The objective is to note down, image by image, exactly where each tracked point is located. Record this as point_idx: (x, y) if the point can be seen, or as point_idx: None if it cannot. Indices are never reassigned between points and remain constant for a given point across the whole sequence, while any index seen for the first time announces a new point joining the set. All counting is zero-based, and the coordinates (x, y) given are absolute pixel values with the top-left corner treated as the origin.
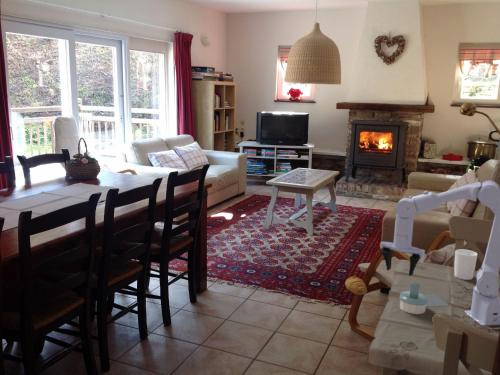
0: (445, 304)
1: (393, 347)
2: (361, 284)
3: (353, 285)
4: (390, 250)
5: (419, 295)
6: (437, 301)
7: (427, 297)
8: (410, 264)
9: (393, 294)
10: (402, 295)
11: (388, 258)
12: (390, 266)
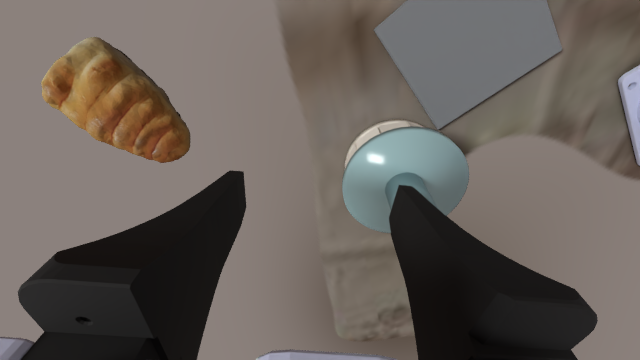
0: (545, 49)
1: (368, 329)
2: (144, 134)
3: (121, 146)
4: (168, 357)
5: (429, 161)
6: (509, 32)
7: (466, 163)
8: (414, 308)
9: (290, 60)
10: (355, 198)
11: (210, 297)
12: (238, 193)
